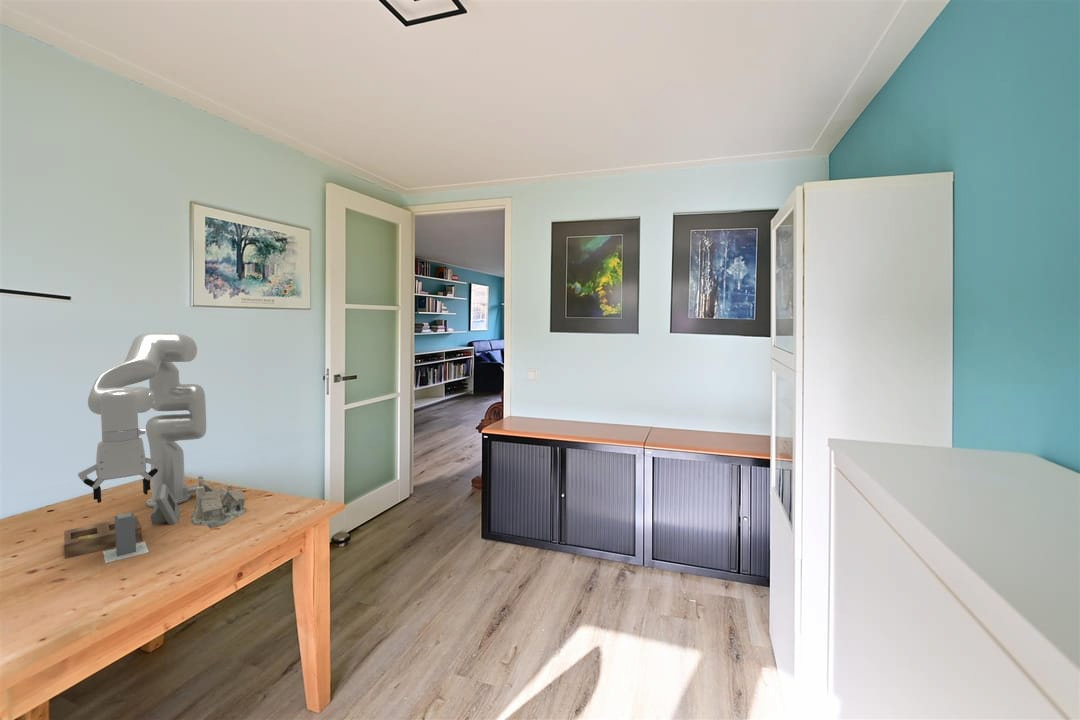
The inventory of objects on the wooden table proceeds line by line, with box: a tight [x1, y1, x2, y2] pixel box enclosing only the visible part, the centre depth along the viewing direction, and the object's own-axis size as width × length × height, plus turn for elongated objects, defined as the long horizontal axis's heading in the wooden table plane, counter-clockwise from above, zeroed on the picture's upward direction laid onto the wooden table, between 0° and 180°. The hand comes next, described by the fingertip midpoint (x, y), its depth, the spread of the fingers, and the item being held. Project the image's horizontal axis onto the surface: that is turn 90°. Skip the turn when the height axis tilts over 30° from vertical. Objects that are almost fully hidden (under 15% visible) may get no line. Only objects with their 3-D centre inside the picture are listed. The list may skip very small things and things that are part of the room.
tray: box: [102, 541, 149, 564], centre depth 133 cm, size 9×9×1 cm
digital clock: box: [150, 484, 181, 526], centre depth 157 cm, size 16×9×11 cm, turn 25°
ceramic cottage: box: [190, 475, 246, 529], centre depth 160 cm, size 16×16×15 cm
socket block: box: [63, 515, 143, 559], centre depth 139 cm, size 16×12×5 cm
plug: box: [113, 512, 137, 556], centre depth 133 cm, size 4×4×10 cm
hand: (122, 497), depth 132 cm, fingers open, 9 cm apart
